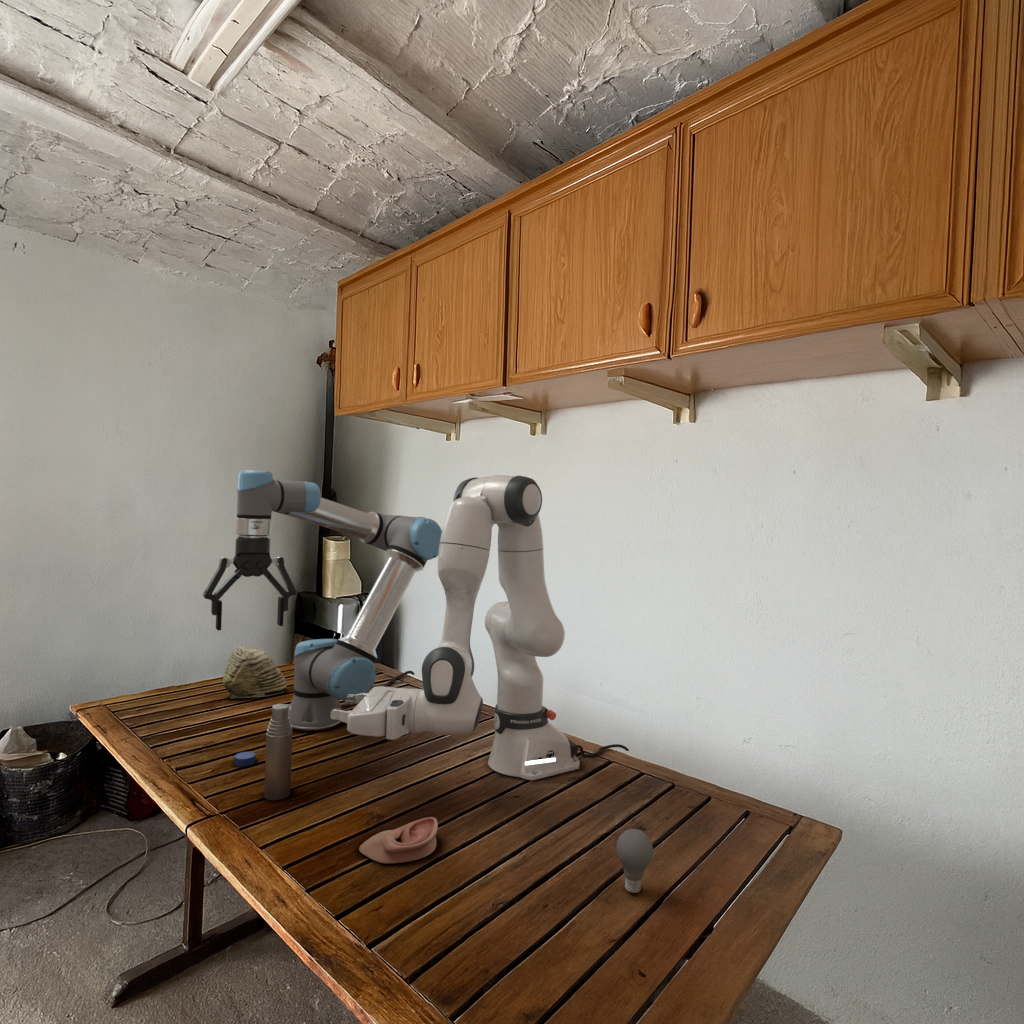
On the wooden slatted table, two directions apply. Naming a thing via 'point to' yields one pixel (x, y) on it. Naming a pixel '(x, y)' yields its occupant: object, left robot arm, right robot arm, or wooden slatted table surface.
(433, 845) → the anatomical model
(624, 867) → the light bulb
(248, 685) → the fossil
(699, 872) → the wooden slatted table surface
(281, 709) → the bottle
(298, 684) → the left robot arm
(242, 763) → the cap
